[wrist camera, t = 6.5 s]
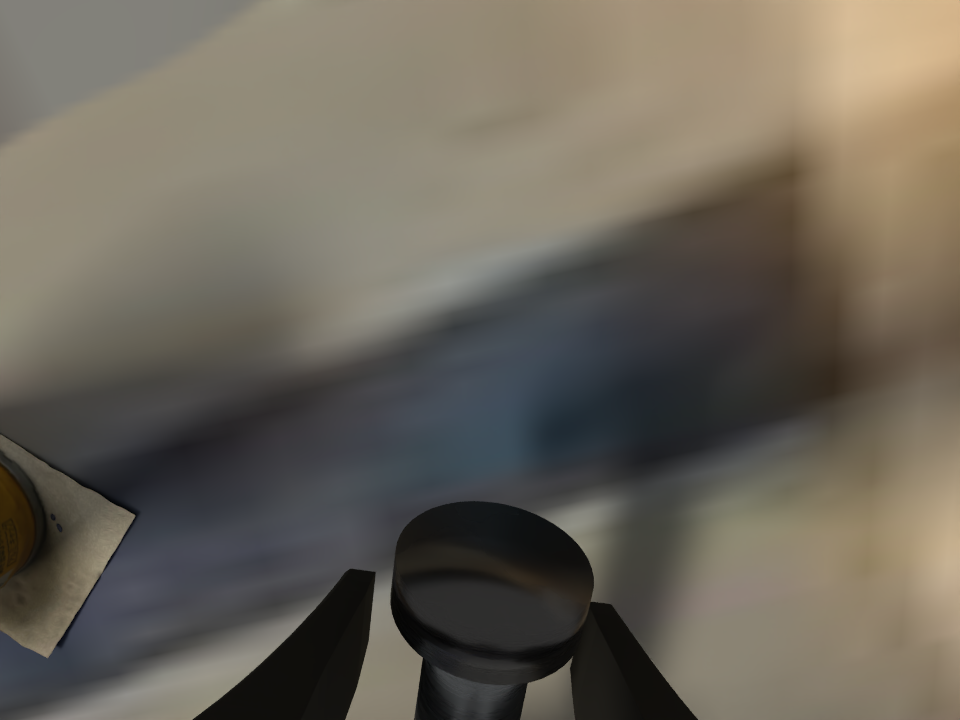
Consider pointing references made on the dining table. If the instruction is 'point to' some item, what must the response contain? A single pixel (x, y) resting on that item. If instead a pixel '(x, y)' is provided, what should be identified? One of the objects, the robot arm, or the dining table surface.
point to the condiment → (49, 547)
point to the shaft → (487, 606)
